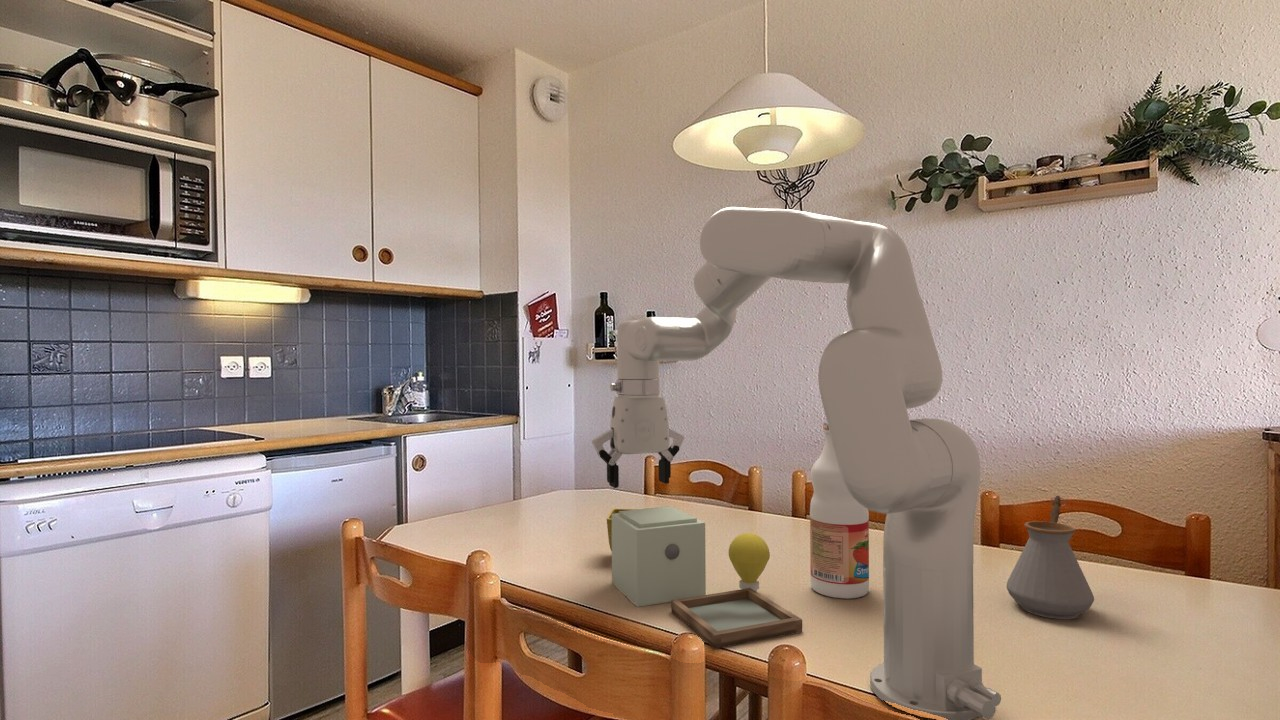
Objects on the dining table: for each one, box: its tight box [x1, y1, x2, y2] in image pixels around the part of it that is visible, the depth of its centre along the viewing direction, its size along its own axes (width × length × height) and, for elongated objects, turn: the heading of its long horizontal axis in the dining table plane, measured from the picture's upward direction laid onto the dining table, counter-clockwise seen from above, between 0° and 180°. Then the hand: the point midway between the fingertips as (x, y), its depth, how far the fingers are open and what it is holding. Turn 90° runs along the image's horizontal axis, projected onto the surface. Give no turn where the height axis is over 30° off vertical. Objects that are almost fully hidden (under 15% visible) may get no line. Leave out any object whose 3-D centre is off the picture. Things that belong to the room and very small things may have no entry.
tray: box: [670, 588, 803, 650], centre depth 98 cm, size 14×14×2 cm
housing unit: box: [611, 505, 707, 608], centre depth 112 cm, size 13×12×13 cm
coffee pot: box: [1006, 495, 1095, 620], centre depth 106 cm, size 21×12×15 cm, turn 143°
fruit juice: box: [809, 421, 870, 599], centre depth 111 cm, size 9×9×28 cm
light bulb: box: [728, 532, 771, 592], centre depth 109 cm, size 7×7×10 cm
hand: (639, 484), depth 119 cm, fingers open, 9 cm apart
